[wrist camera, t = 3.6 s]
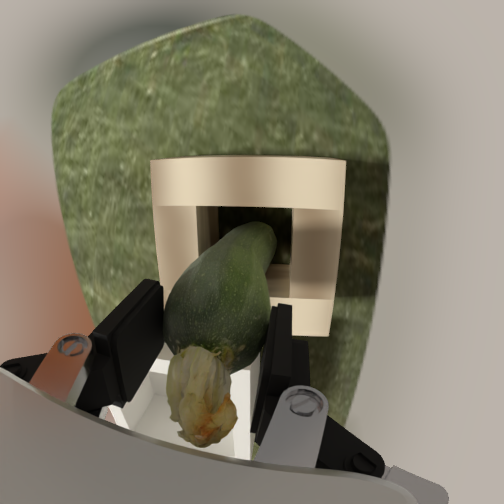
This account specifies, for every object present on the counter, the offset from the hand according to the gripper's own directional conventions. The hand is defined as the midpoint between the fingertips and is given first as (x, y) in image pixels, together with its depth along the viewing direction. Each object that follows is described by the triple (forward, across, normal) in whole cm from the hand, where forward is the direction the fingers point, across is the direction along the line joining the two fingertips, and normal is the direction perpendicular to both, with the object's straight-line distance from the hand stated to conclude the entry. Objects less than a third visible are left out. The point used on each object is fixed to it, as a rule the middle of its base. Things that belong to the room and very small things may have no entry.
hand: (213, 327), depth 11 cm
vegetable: (+15, 0, 0) cm, 15 cm away
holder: (+14, 0, 0) cm, 14 cm away
